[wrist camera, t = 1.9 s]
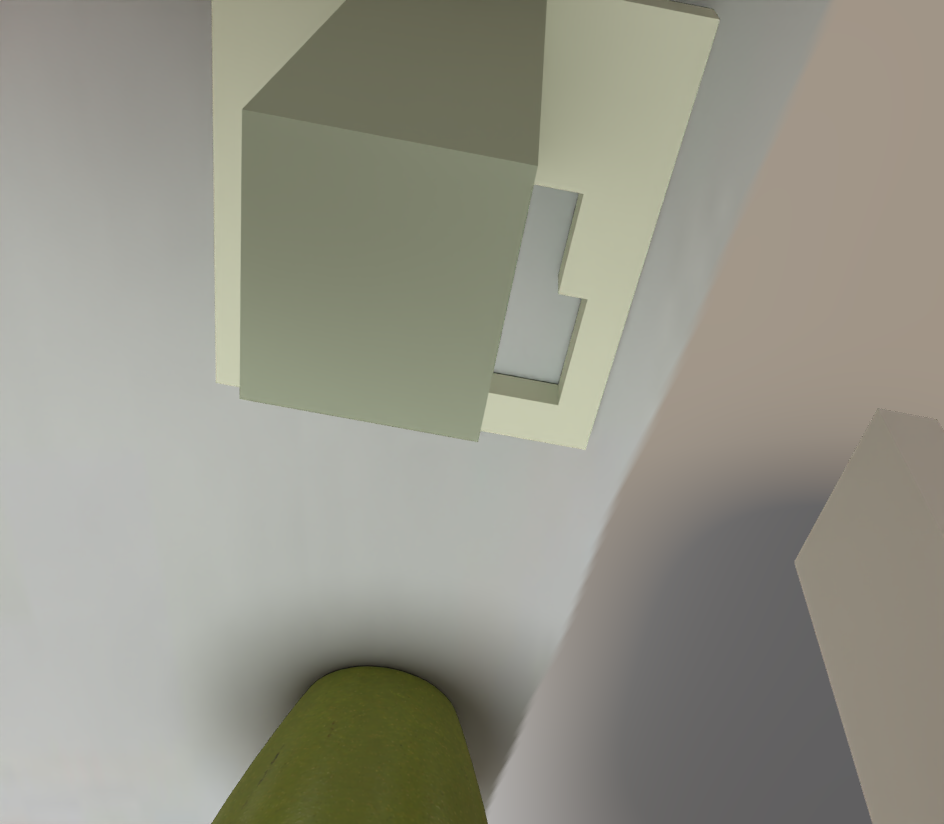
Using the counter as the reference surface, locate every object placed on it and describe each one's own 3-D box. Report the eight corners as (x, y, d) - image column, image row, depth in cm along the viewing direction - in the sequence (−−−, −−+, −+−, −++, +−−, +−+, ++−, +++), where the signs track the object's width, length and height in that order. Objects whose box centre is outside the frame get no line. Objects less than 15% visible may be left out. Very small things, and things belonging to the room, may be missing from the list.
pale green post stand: (225, -88, 22) (-86, 39, 11) (713, 9, 22) (852, 219, 12) (226, 363, 30) (46, 682, 20) (584, 428, 31) (598, 776, 20)
